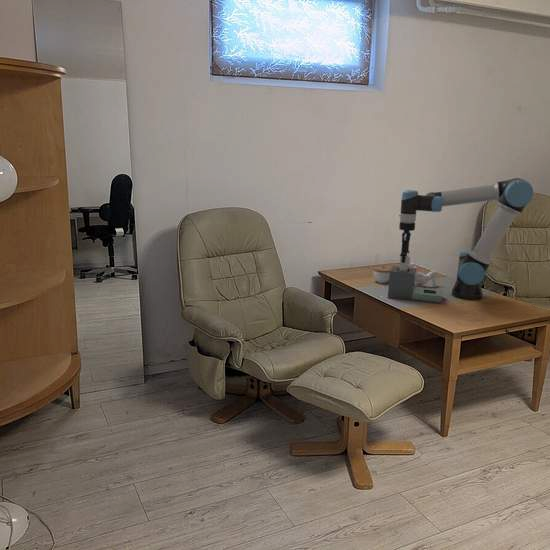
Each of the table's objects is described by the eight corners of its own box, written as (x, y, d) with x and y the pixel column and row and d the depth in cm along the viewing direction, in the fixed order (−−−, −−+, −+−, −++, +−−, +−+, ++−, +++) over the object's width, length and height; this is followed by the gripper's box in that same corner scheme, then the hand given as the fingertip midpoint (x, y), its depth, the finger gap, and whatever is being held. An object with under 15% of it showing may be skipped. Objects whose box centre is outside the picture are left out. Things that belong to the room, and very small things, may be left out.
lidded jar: (368, 280, 305) (369, 264, 302) (381, 278, 311) (382, 262, 308) (382, 285, 296) (384, 268, 294) (395, 282, 303) (397, 266, 300)
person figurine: (430, 263, 303) (405, 260, 294) (445, 273, 293) (419, 270, 284) (421, 283, 308) (397, 281, 299) (435, 294, 297) (410, 292, 289)
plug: (408, 275, 276) (410, 254, 273) (407, 276, 272) (409, 255, 269) (399, 274, 277) (401, 253, 274) (398, 275, 274) (400, 254, 271)
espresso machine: (442, 297, 277) (444, 271, 273) (441, 304, 266) (443, 276, 262) (390, 291, 285) (392, 265, 281) (387, 297, 274) (389, 271, 270)
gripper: (401, 218, 278) (398, 262, 284) (397, 224, 260) (393, 270, 266) (416, 219, 275) (412, 263, 281) (413, 225, 258) (409, 272, 264)
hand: (403, 267), depth 274 cm, fingers open, 6 cm apart
